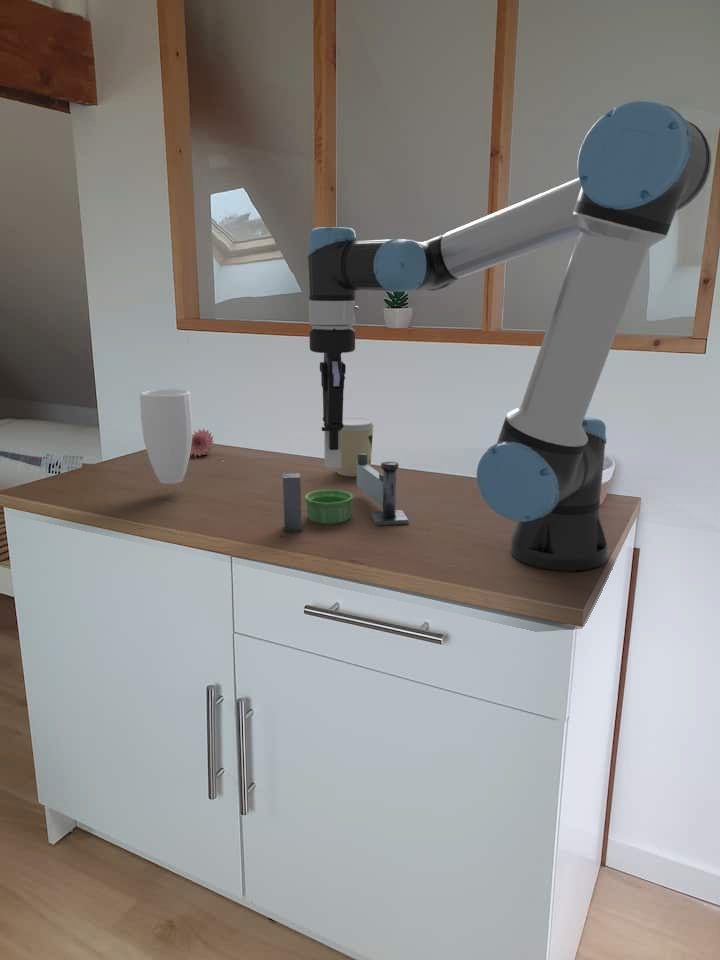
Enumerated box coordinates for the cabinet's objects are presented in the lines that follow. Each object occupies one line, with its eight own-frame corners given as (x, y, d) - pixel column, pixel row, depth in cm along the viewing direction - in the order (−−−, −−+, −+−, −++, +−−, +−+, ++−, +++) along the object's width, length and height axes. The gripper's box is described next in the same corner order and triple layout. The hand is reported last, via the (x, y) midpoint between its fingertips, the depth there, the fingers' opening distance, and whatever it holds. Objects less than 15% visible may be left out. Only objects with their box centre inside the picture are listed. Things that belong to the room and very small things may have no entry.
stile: (301, 531, 133) (300, 477, 130) (284, 532, 132) (283, 477, 130) (300, 525, 136) (299, 472, 133) (283, 526, 135) (282, 473, 133)
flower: (207, 428, 194) (196, 419, 189) (226, 444, 190) (215, 435, 186) (187, 451, 194) (176, 443, 189) (206, 468, 190) (195, 460, 185)
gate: (391, 506, 140) (391, 470, 138) (381, 507, 139) (381, 471, 138) (364, 485, 155) (364, 452, 153) (355, 485, 154) (355, 453, 152)
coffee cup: (379, 475, 170) (380, 423, 167) (341, 479, 167) (341, 426, 164) (364, 465, 179) (364, 416, 176) (327, 469, 175) (327, 419, 172)
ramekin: (295, 518, 140) (295, 495, 139) (330, 508, 146) (330, 486, 145) (327, 529, 134) (327, 505, 133) (362, 518, 140) (362, 495, 139)
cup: (159, 505, 148) (151, 397, 142) (138, 493, 156) (129, 391, 150) (206, 495, 154) (200, 392, 149) (183, 485, 162) (177, 387, 157)
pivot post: (408, 523, 136) (409, 467, 134) (376, 525, 136) (376, 468, 133) (401, 514, 142) (402, 459, 139) (371, 515, 141) (371, 460, 138)
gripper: (360, 330, 116) (359, 475, 122) (350, 324, 128) (349, 457, 134) (312, 330, 115) (314, 477, 121) (306, 324, 127) (308, 458, 133)
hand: (332, 466), depth 128 cm, fingers closed
